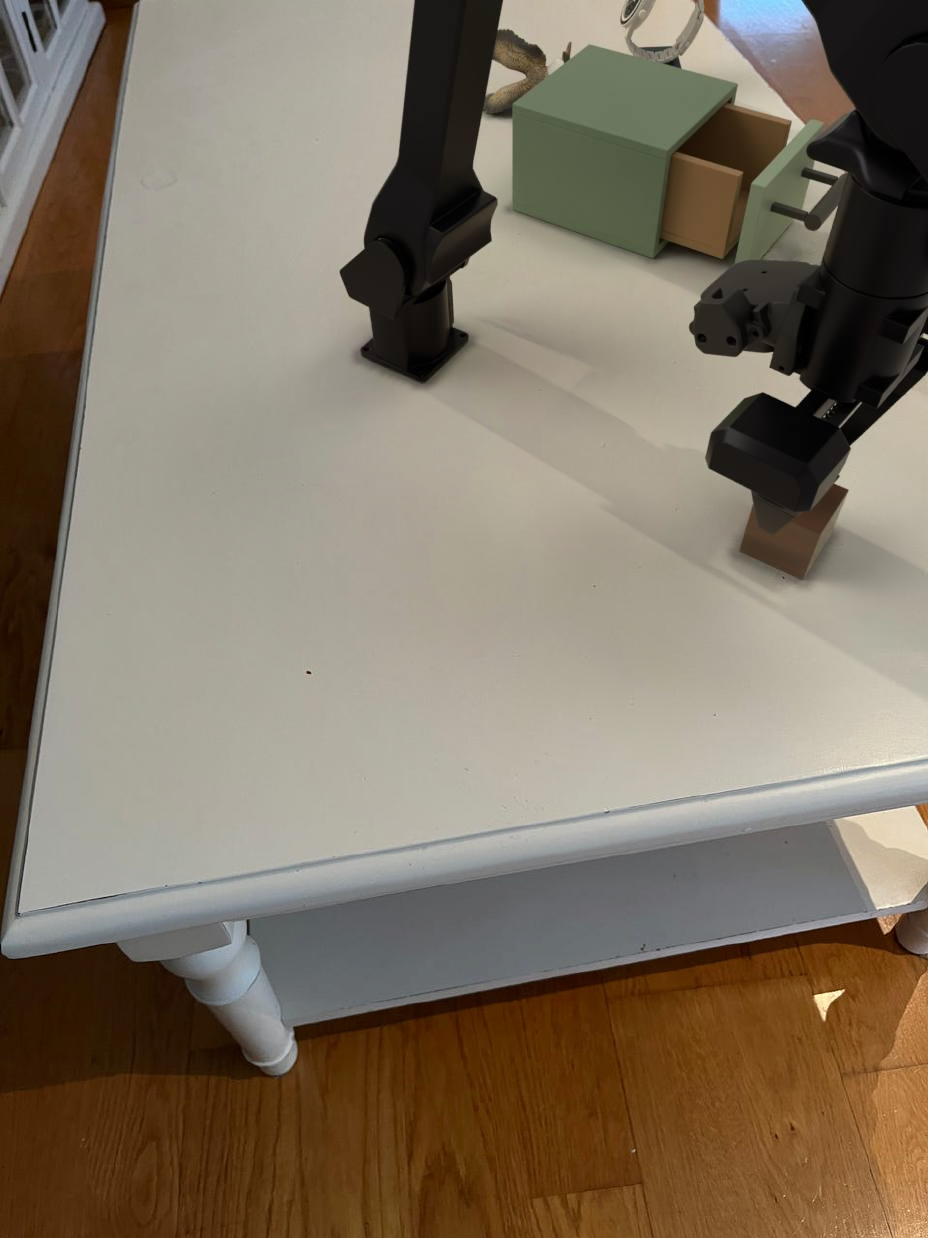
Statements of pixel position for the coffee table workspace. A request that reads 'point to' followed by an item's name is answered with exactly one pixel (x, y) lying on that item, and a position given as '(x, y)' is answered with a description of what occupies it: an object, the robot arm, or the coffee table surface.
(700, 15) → the watch
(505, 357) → the coffee table surface
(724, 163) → the drawer
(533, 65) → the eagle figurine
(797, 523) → the block
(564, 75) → the cabinet
